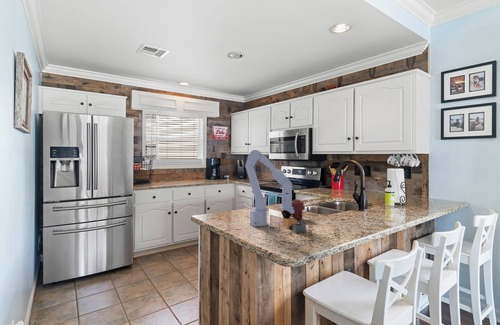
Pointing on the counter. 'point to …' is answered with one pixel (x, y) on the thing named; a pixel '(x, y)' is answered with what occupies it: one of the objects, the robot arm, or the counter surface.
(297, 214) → the mechanical component
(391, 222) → the counter surface
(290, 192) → the robot arm
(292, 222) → the notched orange block
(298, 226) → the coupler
